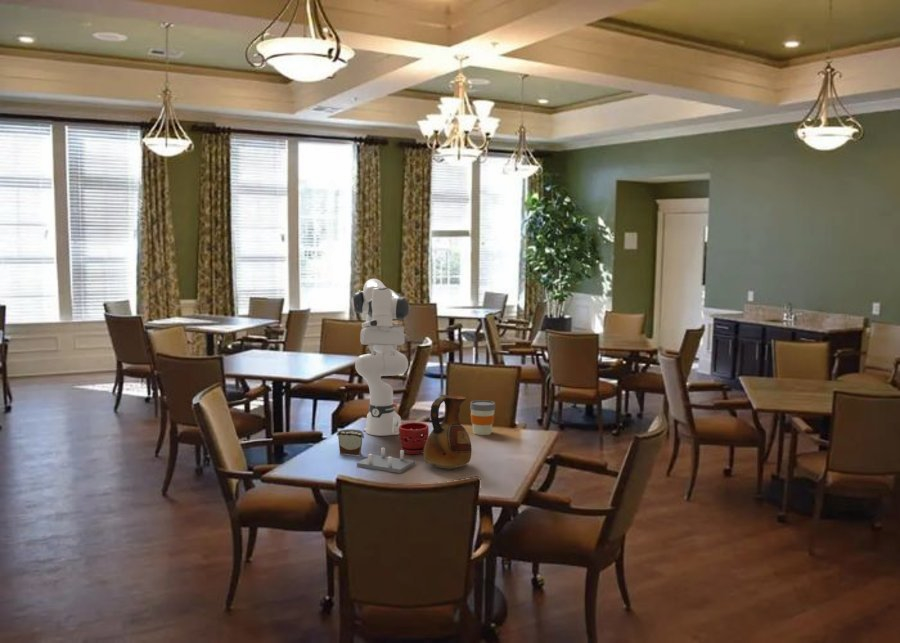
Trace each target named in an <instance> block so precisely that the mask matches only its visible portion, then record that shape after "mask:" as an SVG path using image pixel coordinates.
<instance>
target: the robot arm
mask: <svg viewBox="0 0 900 643" xmlns="http://www.w3.org/2000/svg"><path fill="white" fill-rule="evenodd" d="M409 304H410V303H409V300H408V299H407V298H405V296H401V295H400V294H399V292H396V290H395V291H394V290H392V289H391V288H389V287H387V286H385V284H384V283H383V282H382V281H381V280H379V279H377V278H370V279H368V280H366V282H365V283H364V284H363V290H361V289H360V290H358V291H357V292H355V293H354V294H353V295H352V298H351V306H352V309H353V310H354V312H355V313H356V314H366V316H365V321H364V322H362V323H361V330H360V334H359V338H360V339H359V341H360V344H361V345H366V346H367V347H368V350H369V351H370V353H366V354H365V353H364V354H360V355H359V356H357V358H356V359H355V364H354V367H355V371H356V372H357V374H358V375H359V376H361V377H362V378H363V379H364V380H365V382H366V383H367V386H368V389H369V404H368V413H367V415H366V420H365V421H366V422H365V424H366V425H365V427H363V431H364V432H365V433H366V434H368V435H371V436H377V437H378V436H382V437H383V436H397V435H398V436H399V426H400V425H402V418H401V416H400V415H399V414H398V413H397V412H396V411H395V410H396V409H395V408H397V405H398V404H397V403H396V402H394V398H393V397H394V389H393V386H392V385H390V384H389V383H387V382H384V381H383V380H382V379H381V378H382V377H388V376H392V377H394V376H399V375H403V374H406V372H407V370H408V368H409V360H408V358H407V356H406V355H405V354H404V353H402V352H400V351H398V346H404V345H405V334H404V331H405V330H404V328H405V327H404V326H403V325H402V324H399V323H398V324H395V323H394V322H393V320H404V319H405V318H406V317H408V315H409V314H410V305H409Z"/></svg>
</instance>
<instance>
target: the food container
mask: <svg viewBox="0 0 900 643" xmlns="http://www.w3.org/2000/svg"><path fill="white" fill-rule="evenodd" d="M336 436H337V437H338V448H339V449H338V450H339V454H340V455H346V454H348V456H358V457H360V456H361V454H362V444H363V439H364V438H365V435H364V432H363V430H359V429H353V428H352V429H351V428H350V429H340V430H338V431H337V433H336Z"/></svg>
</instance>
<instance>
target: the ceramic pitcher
mask: <svg viewBox="0 0 900 643" xmlns="http://www.w3.org/2000/svg"><path fill="white" fill-rule="evenodd" d="M466 400H467V397H465V396H461V395H447V394H441V395H440V396H439V397H437V398H436V399H434V401H433V402H432V404H431V406H430V419H431V425H432V430H431V432H430V434H428V438H427V441H426V443H425V447H424V453H423V459H424V461H425V462H427V463H428V464H431V466H433V467H437V468H441V469H449V470H452V469H455V468H457V467H459V468H460V467H463V466H465V465H467V464H468V463H469V462H470V460H471V458H472V454H473V452H472V451H473V449H472V442H471V437H470V436H469V433H468V431H467V430H466V428H465V427H464V426H463V424H461V422H460V411H461V410H460V408H461V405H462V404H463V403H464V401H466ZM443 402H444V405H445V415H444V417H443V419H442V422H441V423H440V418H439V417H440V415H439V413H440V412H439V411H440V407H441V405H442V403H443Z"/></svg>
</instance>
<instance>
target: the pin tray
mask: <svg viewBox="0 0 900 643" xmlns="http://www.w3.org/2000/svg"><path fill="white" fill-rule="evenodd" d="M415 465H416V460H412V459H405V452H404V450H402V449H400V450H399V458H398V457H392V456H386V448H385V447H381V448H380V455H377V454H373V453H368V457H366V458H364V459H363V460H360V461H358V462H356V467H357V468H358V467H359V468H363V469H370V470H377V471H383V472H392V473H397V474H398V473H399V474H401V473H403V472H405V471H407V470H408V469H410V468H411V467H413V466H415Z"/></svg>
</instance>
